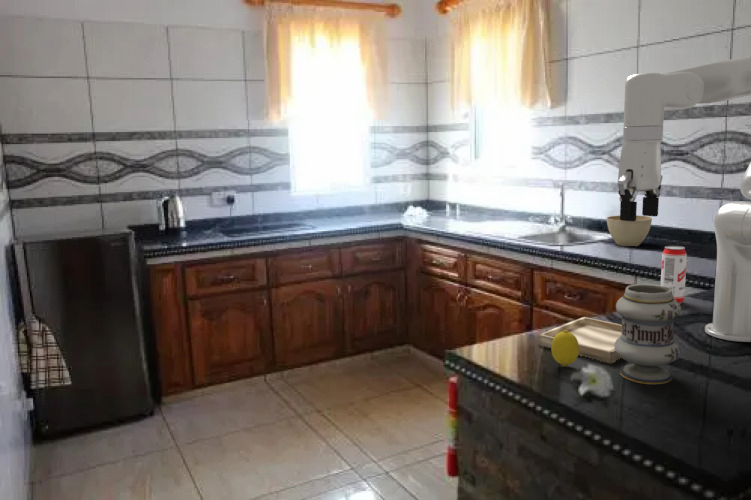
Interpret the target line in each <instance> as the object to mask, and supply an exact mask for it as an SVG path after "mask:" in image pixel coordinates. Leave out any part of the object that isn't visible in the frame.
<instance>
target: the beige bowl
mask: <svg viewBox="0 0 751 500" xmlns="http://www.w3.org/2000/svg"><path fill="white" fill-rule="evenodd" d="M652 222H653V218H652V216H643V215H639V214H638V215H637V214H636V221H622V220H620V214H619V215H610V216H607V217H606V224H607V229H608V231H609V234H610V236H611V238H612V239H613V241H614V243H616V244H617V245H618V246H619V245H620V246H619V247H624V246H635V247H639V246H640V245H641V244H642V242H643V241H644V240H645V239H646V238H647V236H648V234H649V232H650V229H651V227H652Z"/></svg>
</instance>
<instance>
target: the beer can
mask: <svg viewBox="0 0 751 500" xmlns="http://www.w3.org/2000/svg"><path fill="white" fill-rule="evenodd" d="M685 249H686V248H685V246H680V245H667V246H664V250H663V251H662V253H661V271H660V272H661V273H660V274H661V275H660V286H665V287H669V288H671V289H672V295H673V299H675V300H676V301H677V302H678V303H679V304H680V305H681V304H682V303H684V301H685V297H686V296H685V293H686V292H685V291H686V290H685V289H686V275H687V260H688V259H687V255H688V254H687V252H686V250H685Z"/></svg>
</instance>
